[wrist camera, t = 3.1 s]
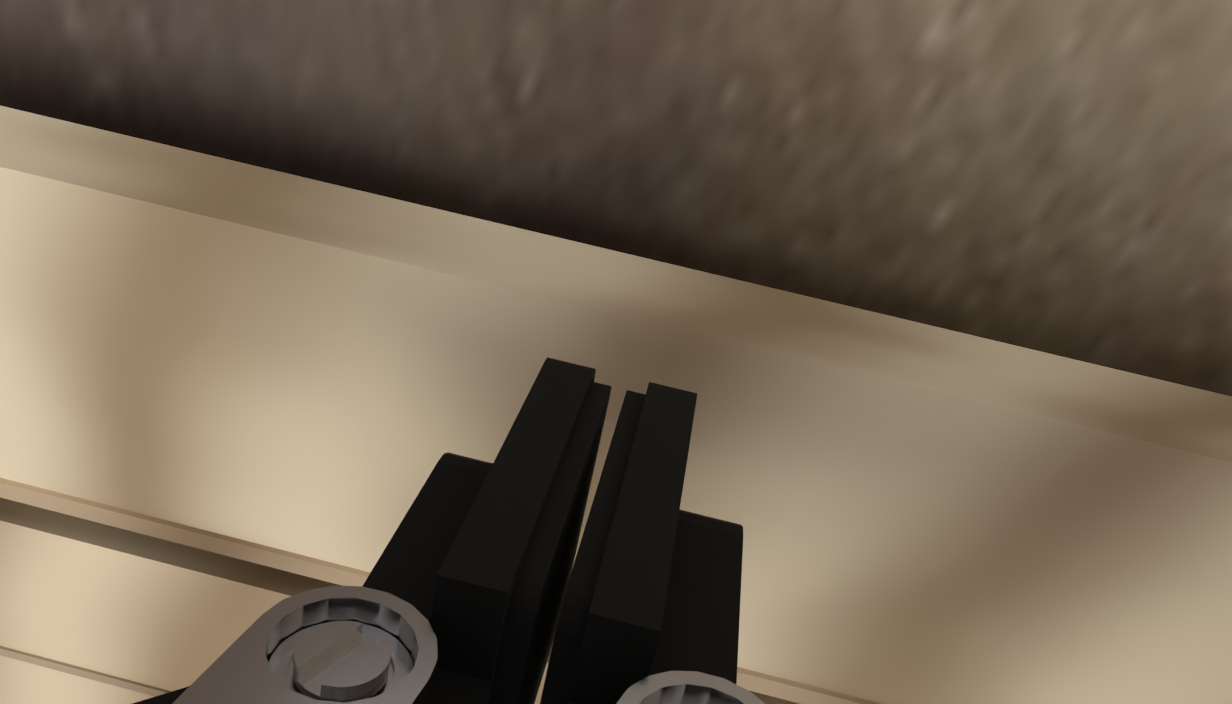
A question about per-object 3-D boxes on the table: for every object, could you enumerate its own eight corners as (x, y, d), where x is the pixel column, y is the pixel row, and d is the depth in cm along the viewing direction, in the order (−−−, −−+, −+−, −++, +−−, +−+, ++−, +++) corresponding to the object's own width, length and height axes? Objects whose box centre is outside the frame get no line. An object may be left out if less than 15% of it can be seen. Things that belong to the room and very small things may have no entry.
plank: (1637, 492, 13) (1688, 577, 12) (1239, 755, 20) (1254, 823, 19) (-214, 54, 14) (-287, 103, 14) (-9, 437, 21) (-50, 486, 20)
